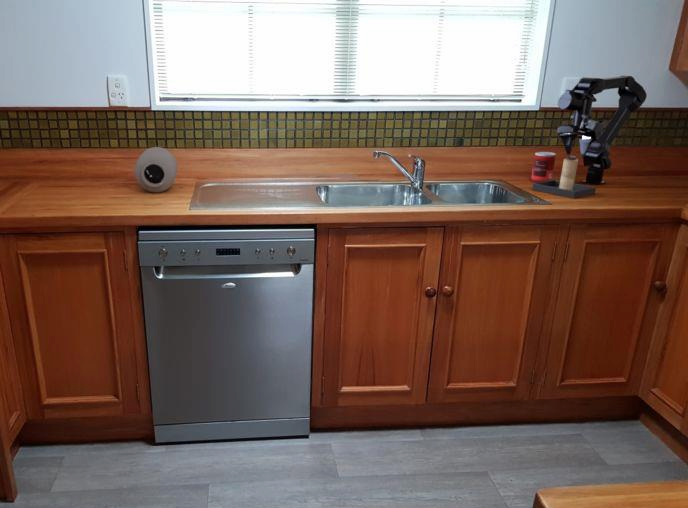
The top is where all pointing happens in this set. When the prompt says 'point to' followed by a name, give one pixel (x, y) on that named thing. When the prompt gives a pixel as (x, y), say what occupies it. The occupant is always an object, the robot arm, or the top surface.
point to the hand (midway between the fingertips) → (575, 155)
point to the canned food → (543, 166)
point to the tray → (554, 188)
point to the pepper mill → (568, 173)
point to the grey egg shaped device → (155, 169)
